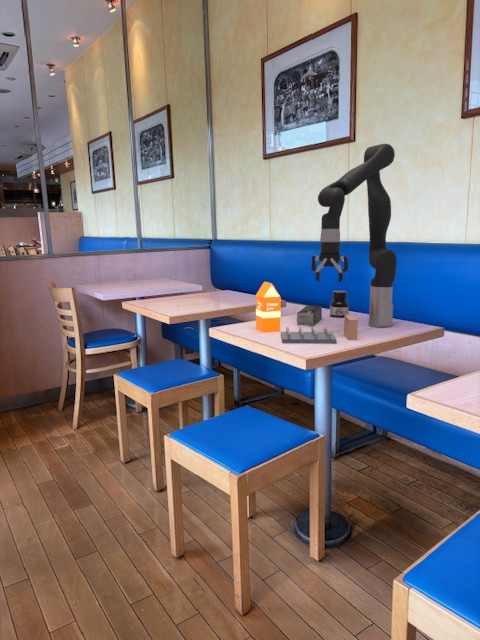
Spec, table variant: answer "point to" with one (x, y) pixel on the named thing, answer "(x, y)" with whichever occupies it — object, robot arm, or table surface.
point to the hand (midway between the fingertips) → (329, 281)
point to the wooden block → (350, 327)
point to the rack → (308, 336)
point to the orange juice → (268, 309)
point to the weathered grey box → (309, 315)
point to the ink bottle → (339, 304)
